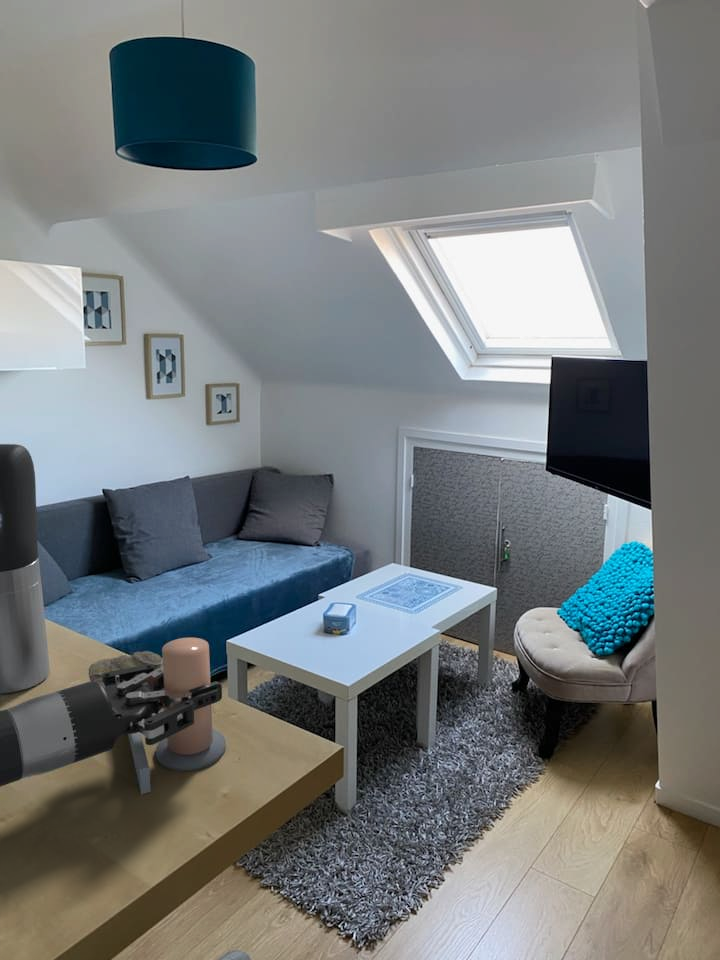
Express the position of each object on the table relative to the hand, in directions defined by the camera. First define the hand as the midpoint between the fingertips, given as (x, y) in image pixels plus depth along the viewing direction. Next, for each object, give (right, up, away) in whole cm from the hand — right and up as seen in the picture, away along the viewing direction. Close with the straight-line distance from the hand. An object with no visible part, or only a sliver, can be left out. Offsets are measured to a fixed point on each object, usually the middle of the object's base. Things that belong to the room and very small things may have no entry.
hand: (207, 680), depth 87 cm
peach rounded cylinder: (-2, -7, 0) cm, 7 cm away
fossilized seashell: (-13, -6, +13) cm, 19 cm away
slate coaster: (-2, -8, 0) cm, 9 cm away
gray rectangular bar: (-8, -9, -1) cm, 12 cm away
